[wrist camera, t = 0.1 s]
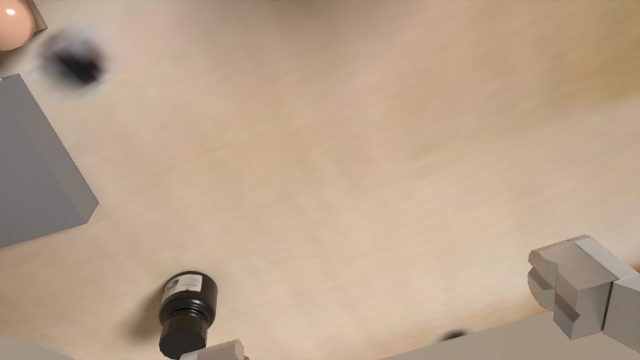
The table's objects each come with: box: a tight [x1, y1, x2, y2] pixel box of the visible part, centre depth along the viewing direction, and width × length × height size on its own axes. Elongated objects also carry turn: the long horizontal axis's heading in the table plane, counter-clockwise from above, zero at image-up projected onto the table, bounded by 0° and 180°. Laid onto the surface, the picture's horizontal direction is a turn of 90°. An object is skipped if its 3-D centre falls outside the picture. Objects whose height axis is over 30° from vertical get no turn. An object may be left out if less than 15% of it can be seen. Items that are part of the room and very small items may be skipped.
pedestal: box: [22, 0, 48, 32], centre depth 45 cm, size 4×4×4 cm
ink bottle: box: [159, 271, 218, 360], centre depth 65 cm, size 10×9×12 cm
